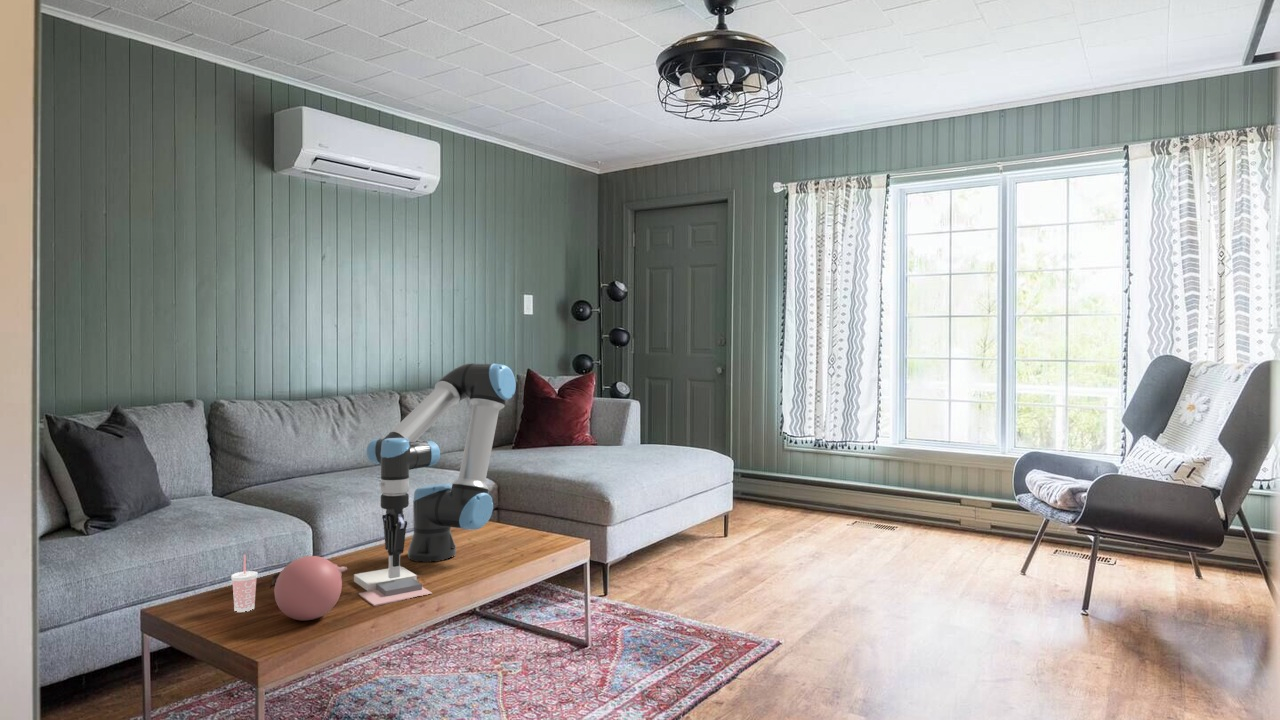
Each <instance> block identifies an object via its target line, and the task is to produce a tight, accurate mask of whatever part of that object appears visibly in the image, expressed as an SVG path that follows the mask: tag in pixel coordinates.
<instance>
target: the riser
mask: <svg viewBox="0 0 1280 720" xmlns="http://www.w3.org/2000/svg"><path fill="white" fill-rule="evenodd" d="M388 569H389V567H388V568H382V569H377V570H376V569H375V570H371V571H366V572H359V573H355V574H354V573H353V582H354V583H355V584H357V585H358V586H360V587H361V588H363V589H364V590H365V591H366V592H368V591H373V590H377V589H376V584H377V583H383V582H388V581H394V580H399V579H405V578H411V577H412V578H413V579H415V580H416V581H418V574H415V573H414V572H412V571H410V570H408V569H407V568H405V567H403V566H402V565H400V577H396V578H389V577H388Z"/></svg>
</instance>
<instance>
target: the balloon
mask: <svg viewBox="0 0 1280 720" xmlns="http://www.w3.org/2000/svg"><path fill="white" fill-rule="evenodd" d="M347 570H348V567H347V566H338V564H336V563H333V562H332V561H330V560H328V559H327V558H324V557H322V556H318V555H307V556H302V557H299V558H297V559H295V560H292V561H291V562H290V563H288V564H287V565H286V566H285V567H284V568H282V570H281V572H279V573H280V574H279V576H278V578H277V581H276V584H275V587H274V588H273V590H274V591H273V592H274V600H275V603H276V605H277V606H278V609H279V610H280V611H281V612H282V613H283V614H284V615H285V616H287V617H288V618H290V619H293V620H297V621H312V620H316V619H319V618H321V617H323V616H324V615H326V614H328V613H329V612H330V611H331V610H332V609H333V608H334V607H335V605H336V604H337V603H338V601H339V600H340V599H339V598H340V596H341V594H342V588H343V580H342V575H343V574H342V573H344V572H346V571H347Z"/></svg>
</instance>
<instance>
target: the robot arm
mask: <svg viewBox="0 0 1280 720" xmlns="http://www.w3.org/2000/svg"><path fill="white" fill-rule="evenodd" d="M516 387H517V382H516V378H515V375H514V373H513V370H512V369H511V368H510V367H509V366H507V364H506V365H505V364H500V363H499V364H498V363H495V362H494V363H466V364H462V365H460V366H458V367H456V368H454V369H452V370H451V371H449V372H448V373H446V374H445V375H444V376H443V377H441V378H440V379H439V380H438V381H437V382H436V383H435V384H434V389H433V390H432V391H431V392H430V393H429V394H428V395H427V396H426V397H425V398H424V399H423V400H422V401H421V402H420V403H419V404H417V405H416V407H415V408H414V409H413V410H412V411H411V412H410V413H408V414H407V415H406V416H405V417H404V419H402V420H401V421H400V422H399V423H398V424H397V425H396V426H395V427H394V428H393V429H391V431H390V432H389V433H388V434H387V435H386V436H385V437H383V438H374V439H372V440H370V442H369V443H368V445H367V448H366V457H367V460H369V462H371V463H373V464H376V465H380V483H379V484H378V485H379V487H380V493H382V494H381V495H380V508H381V509H382V510H386V511H385V514H382V516H381V517H382V523H383V531H384V532H383V533H384V548H385V550H387V553H388V568H389V569H388V568H387V569H388V577H389V578H396V577H400V566H401V554H404V551H405V542H406V532H407V526H408V521H407V520H404V519H405V515H404V511H403V510H404V509H405V508H408V507H409V504H410V503H409V501H410V500H409V497H410V496H409V493H408V492H410V470H414V469H415V470H416V469H423V468H428V467H433V466H435V465H436V464H437V463H438V462H439V460H440V458H441V450H440V447H439V445H438V444H437V443H436V442H434V441H432V440H423V441H418V439H420V438H421V437H422V435H423V434H425V433H426V431H428V430H429V428H431V427H432V425H433V424H435V422H436V421H437V420H439V418H441V417H442V415H444V413H445V412H446V411H447V410H448V409H449V408H450V407H451V406H456V405H458V404H459V403H460V402H461V401H462V400H466V399H469V400H468V401H469V403H470V404H471V405H472V410H471V414H470V419H469V425H468V429H467V433H466V439H465V445H464V448H463V449H464V450H463V455H462V458H461V464H460V467H459V468H460V470H459V475H458V478H457V479H456V480H455V481H454V482H452V483H451V484H450V483H437V484H429V485H424V486H420V487H417V488H416V489H415V490H414V492H413V493H414V494H413V500H412V501H413V509H412V510H413V534H412V537H411V540H410V543H409V546H408V551H407V558H409V560H410V559H411V560H410V561H413V560H415V561H414V562H418V561H423V562H422V563H431V561H435V562H440V561H439V560H442V561H445V560H444V559H447V558H450V557H452V556H454V555H455V554H456V555H457V548H456V544H455V541H454V538H453V535H452V532H451V531H452V530H451V528H455V529H461V530H466V531H469V530H471V531H472V530H475V531H476V530H480V529H482V528H483V527H484V526H485V525H486V524H487V523H488V522H489V520H490V519H491V517H492V514H493V511H494V503H493V497H492V496H491V494H489V490H490V489H489V486H487V484H486V481H487V475H488V470H489V465H490V459H491V455H492V449H493V443H494V439H495V433H496V428H497V422H498V420H499V419H498V418H499V412H500V411H501V410H502V409H504V408H505V405H506V401H508V400H511V399H512V398H513V396H514V395H515V394H516V393H515V392H516ZM456 555H455V556H456ZM455 556H454V557H455ZM450 559H451V558H450ZM447 560H448V559H447Z"/></svg>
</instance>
